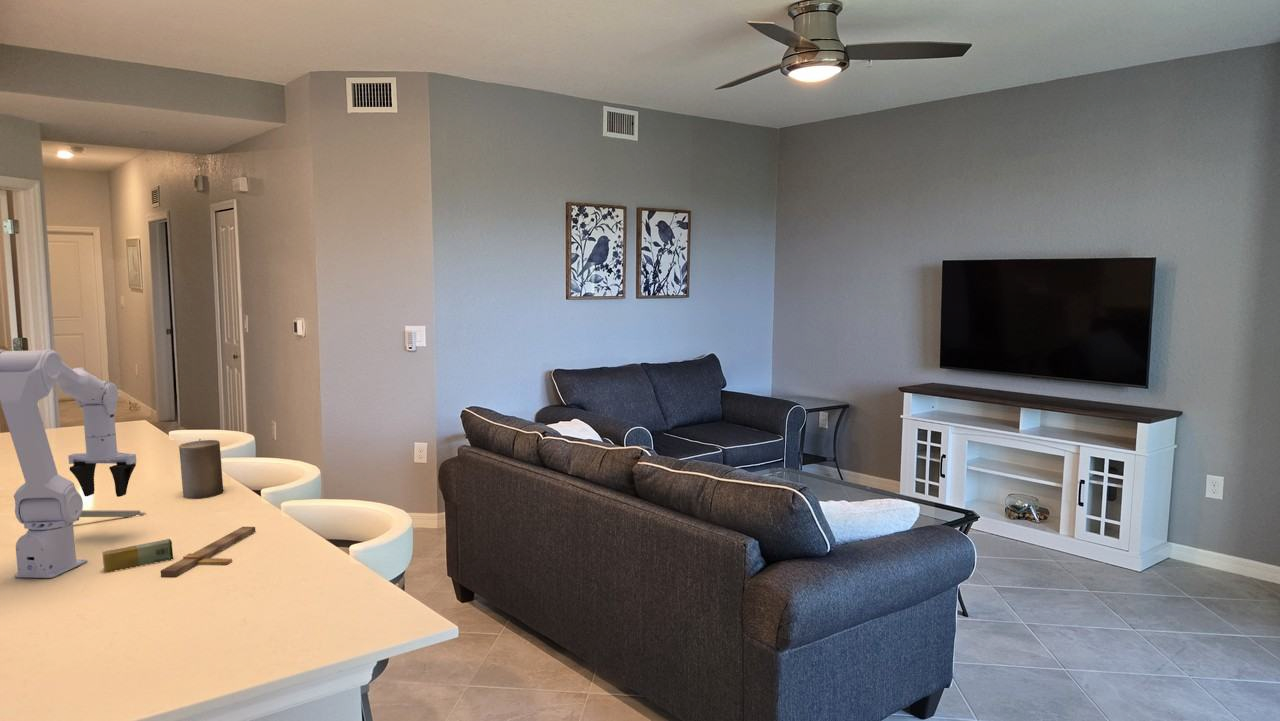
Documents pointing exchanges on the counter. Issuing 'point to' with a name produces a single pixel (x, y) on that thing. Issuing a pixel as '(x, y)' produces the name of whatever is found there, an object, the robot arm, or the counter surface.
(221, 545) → the brown wooden cross
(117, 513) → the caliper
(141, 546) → the medication box
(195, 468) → the pillar candle
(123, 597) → the counter surface
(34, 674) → the counter surface
